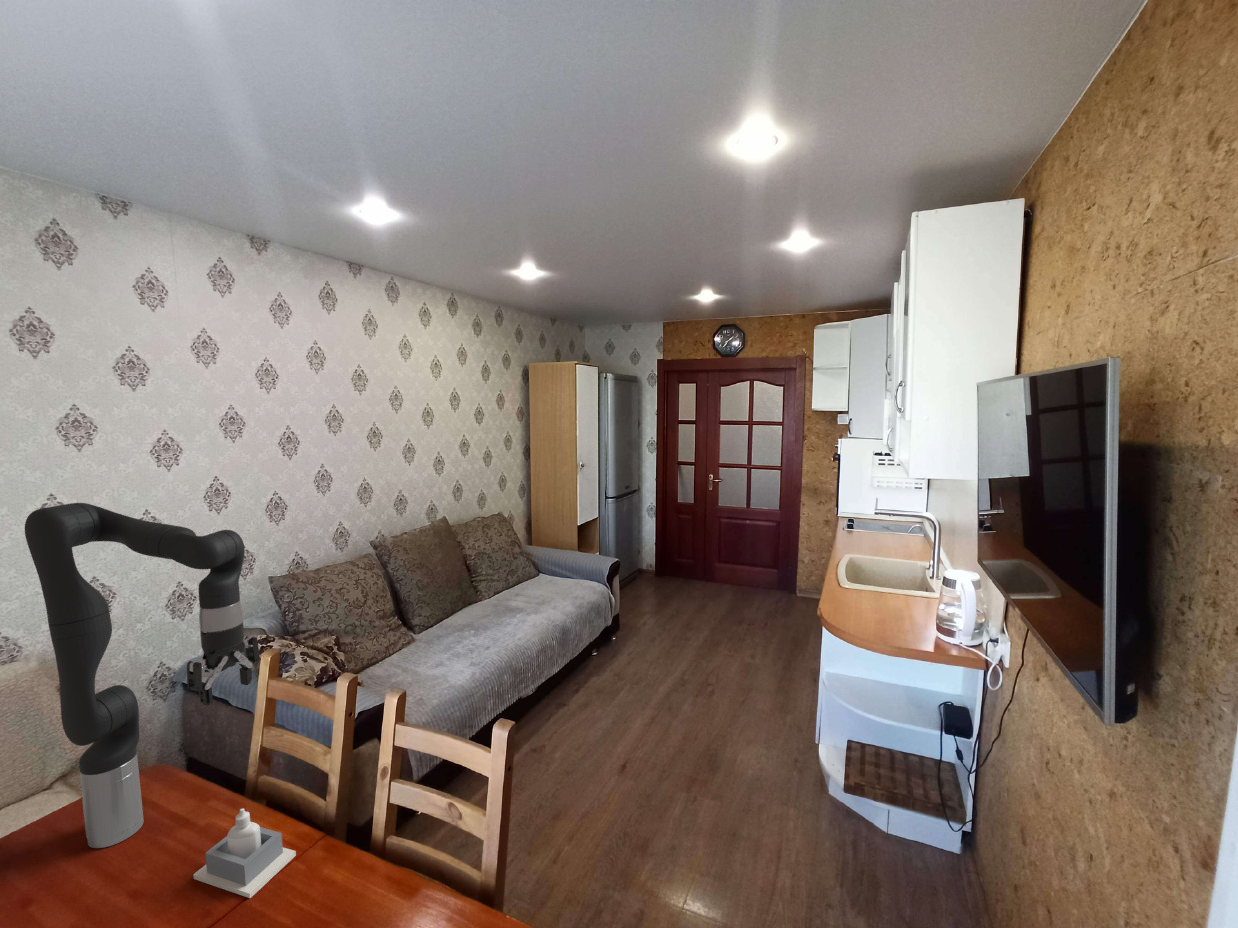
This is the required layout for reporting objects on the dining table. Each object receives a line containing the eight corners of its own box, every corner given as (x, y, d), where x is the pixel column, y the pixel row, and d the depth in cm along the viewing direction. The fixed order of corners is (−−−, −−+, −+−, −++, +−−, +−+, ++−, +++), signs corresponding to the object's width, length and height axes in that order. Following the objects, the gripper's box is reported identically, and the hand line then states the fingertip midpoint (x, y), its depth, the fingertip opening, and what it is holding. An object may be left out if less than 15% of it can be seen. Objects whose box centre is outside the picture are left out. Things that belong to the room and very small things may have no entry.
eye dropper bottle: (244, 874, 109) (240, 820, 107) (226, 865, 111) (222, 812, 109) (265, 858, 113) (261, 805, 111) (247, 849, 115) (243, 798, 113)
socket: (193, 878, 109) (191, 854, 108) (242, 838, 119) (241, 816, 118) (250, 898, 105) (248, 872, 104) (295, 855, 115) (294, 831, 114)
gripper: (240, 609, 123) (245, 675, 125) (173, 634, 110) (180, 708, 112) (265, 612, 121) (269, 680, 123) (200, 639, 108) (207, 714, 109)
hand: (227, 693), depth 117 cm, fingers open, 8 cm apart
